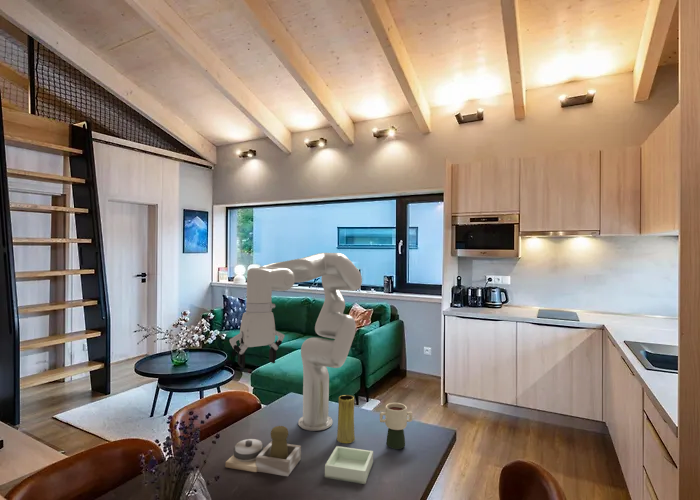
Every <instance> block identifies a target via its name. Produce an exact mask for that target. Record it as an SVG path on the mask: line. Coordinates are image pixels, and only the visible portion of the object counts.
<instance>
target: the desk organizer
mask: <svg viewBox="0 0 700 500" xmlns="http://www.w3.org/2000/svg"><path fill="white" fill-rule="evenodd" d="M271 446H272V441H270V442H269V443H268V444H267V445H266V446H265V447H264V444H263V442H262V441H261V440H260V439H256V438H248V439H243V440H240V441H238V442H237V443H236V444H235V446H234V447H233V454H232V455H231V457H229V458H228V459H227V460H226V461H225V468H229V469H233V470H239V471H240V470H241V471H246V472H252V473H257V472H259V473H264V474H265V473H266V474H269V475H270V474H272V475H278V476H282V477H289V475H290V474H291V473H292V471H294V469H295V468H296V466H297V465H298V463H299V462H300V461H301V460H302V445H299V444H292V443H291V444H290V443H287V449H288V457H287V459H280V458H273V457H270V453H271Z"/></svg>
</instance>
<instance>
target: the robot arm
mask: <svg viewBox="0 0 700 500" xmlns="http://www.w3.org/2000/svg"><path fill="white" fill-rule="evenodd" d="M317 278H321V279H320V280H321V285H322V288H323V293H324V301H323V304H322V307H321V310H320V312H319V314H318V317H317V318H316V322H315V324H314V325H315V326H314V331H315V334H317V335H318V336H320V337H323V338H320V337H309V338H307V339H305V340H304V341H303V342H302V345H301V348H300V356H301V361H302V362H301V363H302V372H303V373H302V374H303V376H302V377H303V379H302V416H301V417H300V418H299V419H298V427H300V428H301V429H303V430H306V431H312V432H313V431H314V432H317V431H324V430H326V429H328V428H330V427H331V426H332V425H333V423H334V421H333V419H332V417H331V416H329V409H330V407H329V404H330V403H329V401H330V400H329V399H330V397H329V396H330V395H329V394H330V375H329V371H328V368H333V369H338V368H339V369H340V368H341V367H342V366H344V364H345V362H346V361H347V357H348V355H349V352H350V349H351V347H352V344H353V340H354V338H355V335H356V328H357V324H356V321H355V318H354V317H353V316H351V315H350V314H345V313H344V311H345V308H346V301H345V299H344V296H343V294H342V291H348V292H349V291H351V292H354V291H358V290H359V289H360V287H361V286H362V283H363V278H362V273H361V271H360V270H359V269H358V268H357V267H356V266H355V264H354V263H353V262H352V261H351V259H350V258H348V257H347V256H346V255H345V254H343V253H341V252H318V253H315V254H312V255H309V256H308V255H307V256H305V257H302V258H301V257H300V258H296V259H295V258H294V259H290V260H285V261H278V262H274V263H268V264H265V265H261V266H259V267H252V268H249V269H248V270H247V273H246V301H245V302H246V305H245V312H243V313H242V317H241V320H240V321H241V323H240V327H239V328H240V329H239V333H238V334H236V335H235V336H233V337H230V338H229V343H230V346H231V347H232V349H233V350H235V352H236V353H237V364H238V366H239V367H240V368H245V367H246V354H245V352H246V350H247V349H248V348H254V347H262V346H263V347H264V346H269V347H270V349H269V350H268V361H269V362H270V363H271V364H275V363H276V360H277V350H278V349H279V348H280V346H281V345H282V343H283V340H284V339H285V334H284V333H282V332H280V331H277V330H276V324H275V317H274V316H275V315H274V312H272V311H273V309H275V308H276V304H275V303H273V302H272V297H273V296H272V295H273V294H272V292H273V291H279V292H284V291H288V290H290V289H291V288H292V287H294V284H295V283H305V282H309V281H312V280H315V279H317ZM276 336H277V339H276ZM237 341H239V344H240V345H239V346H238V344H237Z"/></svg>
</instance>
